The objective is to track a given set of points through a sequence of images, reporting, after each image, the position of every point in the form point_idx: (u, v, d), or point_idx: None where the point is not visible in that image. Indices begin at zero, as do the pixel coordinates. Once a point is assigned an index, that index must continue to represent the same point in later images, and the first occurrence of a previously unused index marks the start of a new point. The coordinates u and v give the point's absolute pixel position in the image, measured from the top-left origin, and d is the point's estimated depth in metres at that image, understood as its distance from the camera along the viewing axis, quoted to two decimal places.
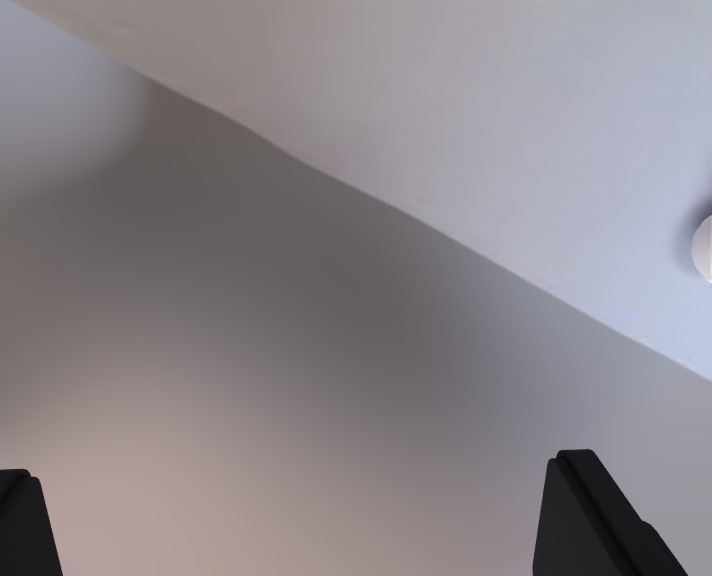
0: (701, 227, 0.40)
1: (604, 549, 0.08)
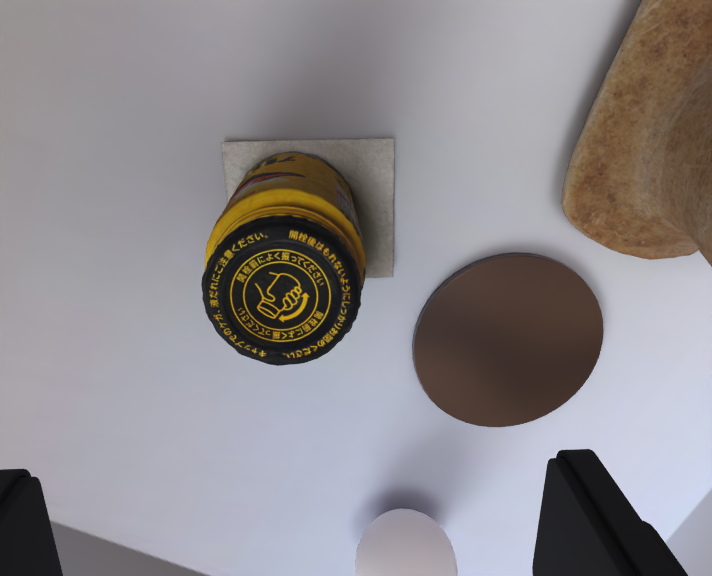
0: (362, 536, 0.35)
1: (604, 549, 0.08)
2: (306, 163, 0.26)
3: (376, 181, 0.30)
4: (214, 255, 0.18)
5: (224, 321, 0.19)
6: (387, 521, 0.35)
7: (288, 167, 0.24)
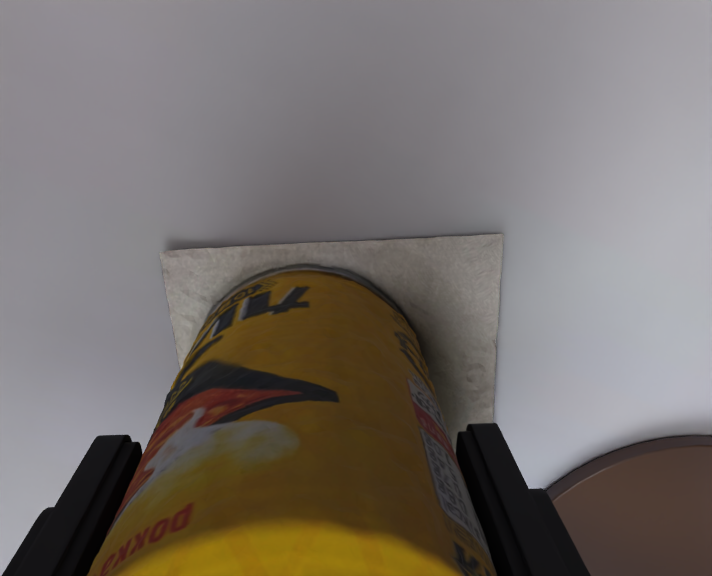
0: None
1: (489, 509, 0.09)
2: (335, 319, 0.11)
3: (466, 314, 0.15)
4: None
5: None
6: None
7: (294, 349, 0.10)
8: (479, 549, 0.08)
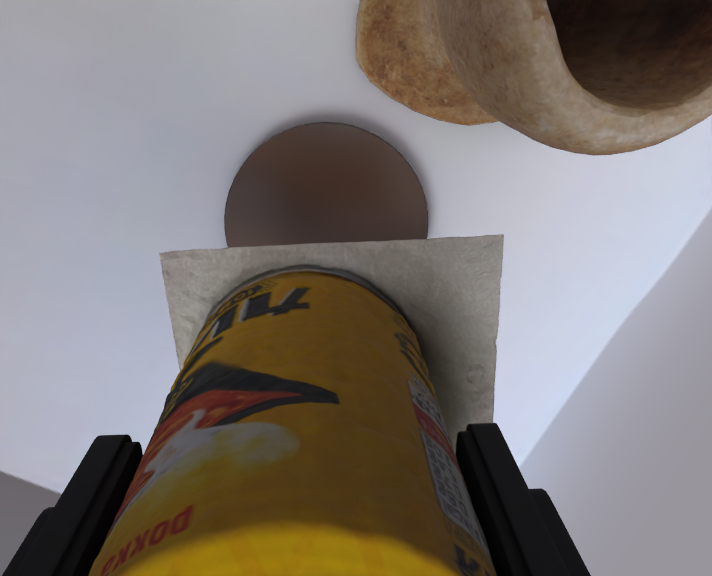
0: None
1: (489, 509, 0.09)
2: (335, 321, 0.11)
3: (466, 315, 0.15)
4: None
5: None
6: None
7: (294, 351, 0.10)
8: (479, 551, 0.08)
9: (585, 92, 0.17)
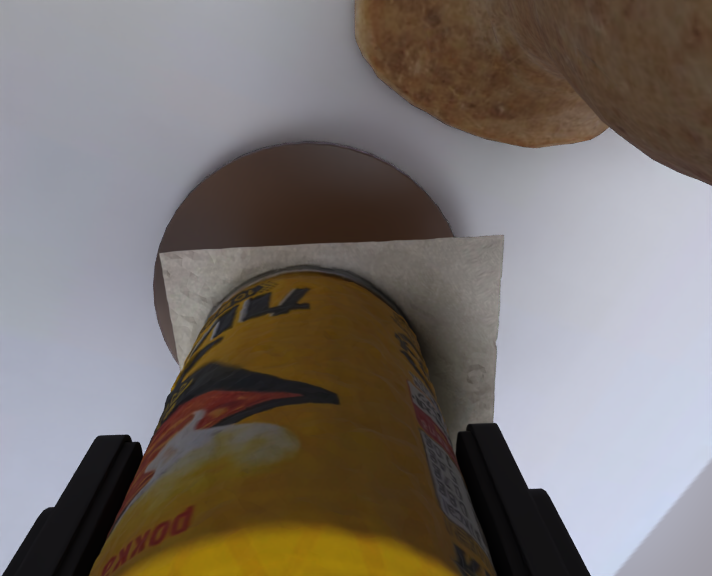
0: None
1: (489, 509, 0.09)
2: (335, 321, 0.11)
3: (466, 315, 0.15)
4: None
5: None
6: None
7: (295, 351, 0.10)
8: (480, 552, 0.08)
9: None
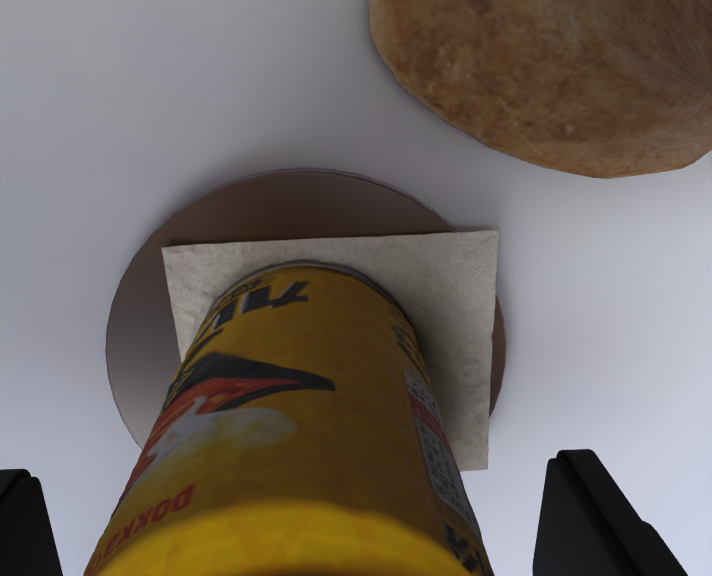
0: None
1: (604, 549, 0.08)
2: (332, 313, 0.12)
3: (462, 309, 0.15)
4: None
5: None
6: None
7: (293, 341, 0.10)
8: (470, 531, 0.08)
9: None
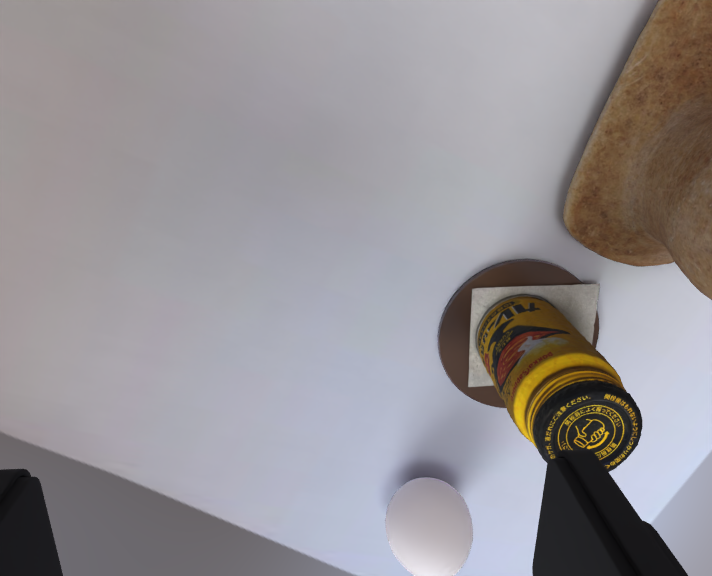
0: (391, 499, 0.42)
1: (604, 549, 0.08)
2: (552, 313, 0.35)
3: (583, 314, 0.39)
4: (551, 408, 0.28)
5: (551, 450, 0.28)
6: (413, 485, 0.41)
7: (548, 321, 0.34)
8: None
9: None
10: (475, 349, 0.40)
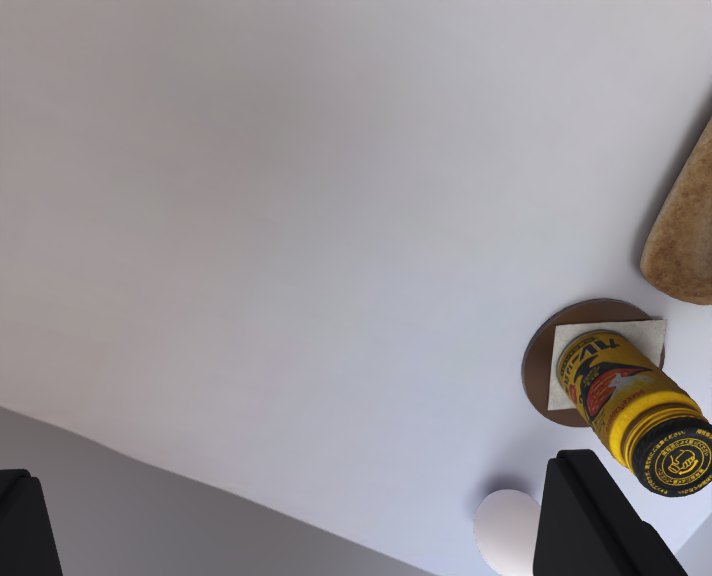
0: (478, 509, 0.47)
1: (604, 549, 0.08)
2: (632, 350, 0.40)
3: (651, 345, 0.44)
4: (651, 442, 0.33)
5: (649, 476, 0.34)
6: (499, 498, 0.46)
7: (631, 359, 0.39)
8: None
9: None
10: (555, 377, 0.45)
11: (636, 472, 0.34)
